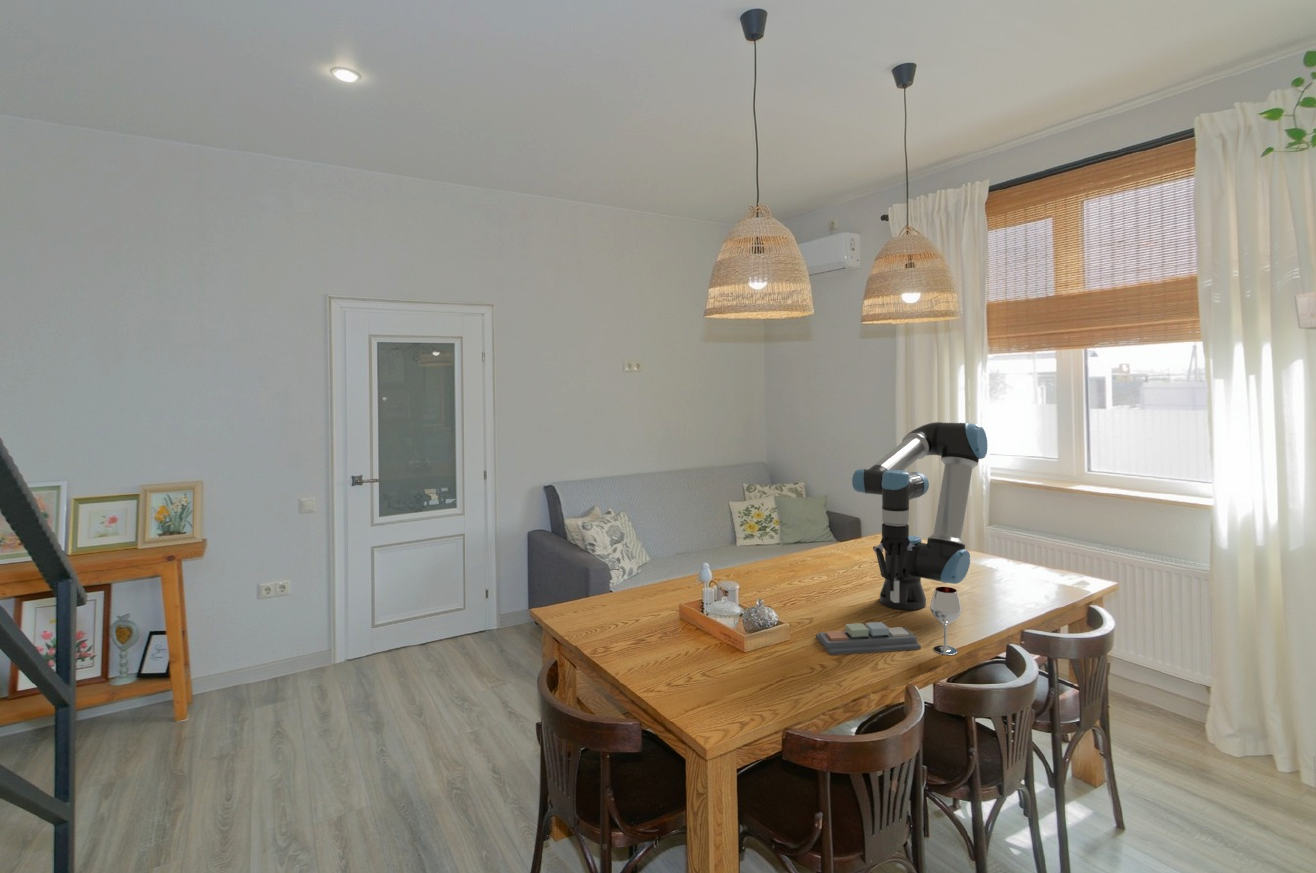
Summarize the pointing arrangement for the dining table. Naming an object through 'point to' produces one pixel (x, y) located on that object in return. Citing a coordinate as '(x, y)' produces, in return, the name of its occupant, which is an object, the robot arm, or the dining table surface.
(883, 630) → the key bluegrey
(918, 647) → the keypad
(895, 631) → the key ivory
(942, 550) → the robot arm
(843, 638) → the key terracotta
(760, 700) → the dining table surface
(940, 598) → the wineglass
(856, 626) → the key sage
